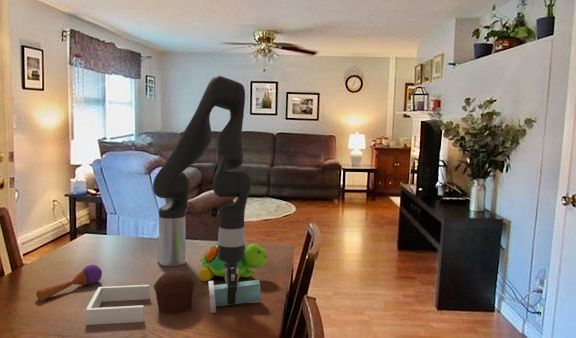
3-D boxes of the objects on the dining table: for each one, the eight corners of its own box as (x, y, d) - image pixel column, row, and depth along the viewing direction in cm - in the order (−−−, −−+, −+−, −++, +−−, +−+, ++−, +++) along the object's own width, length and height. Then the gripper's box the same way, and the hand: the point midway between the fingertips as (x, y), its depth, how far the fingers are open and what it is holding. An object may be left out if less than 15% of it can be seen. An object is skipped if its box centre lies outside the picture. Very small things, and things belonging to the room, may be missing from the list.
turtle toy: (259, 288, 147) (260, 252, 146) (190, 281, 152) (190, 246, 151) (272, 271, 164) (273, 238, 162) (209, 265, 168) (209, 233, 167)
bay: (149, 297, 138) (149, 284, 137) (143, 321, 122) (143, 306, 122) (98, 300, 135) (98, 287, 135) (86, 325, 119) (85, 309, 119)
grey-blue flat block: (257, 291, 141) (256, 275, 141) (263, 306, 131) (261, 288, 130) (209, 297, 139) (208, 281, 138) (210, 313, 128) (209, 295, 127)
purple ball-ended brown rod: (31, 285, 135) (91, 262, 152) (36, 305, 136) (95, 280, 153) (43, 286, 132) (103, 262, 149) (48, 306, 132) (107, 280, 149)
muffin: (161, 298, 137) (160, 265, 136) (198, 300, 137) (198, 266, 136) (147, 316, 126) (147, 279, 124) (189, 317, 125) (189, 281, 124)
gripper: (247, 248, 126) (246, 310, 128) (242, 235, 140) (241, 291, 142) (219, 249, 125) (218, 312, 127) (216, 236, 138) (216, 292, 140)
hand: (230, 300), depth 134 cm, fingers closed on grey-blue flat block, 3 cm apart
